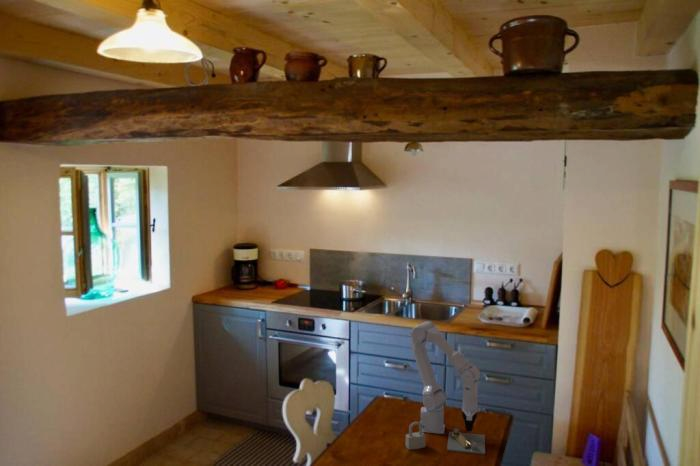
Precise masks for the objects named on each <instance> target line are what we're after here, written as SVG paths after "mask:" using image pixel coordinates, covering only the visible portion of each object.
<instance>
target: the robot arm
mask: <svg viewBox="0 0 700 466" xmlns="http://www.w3.org/2000/svg"><path fill="white" fill-rule="evenodd" d="M410 336H411V338H410V346H411V347H410V348H411V351H412V354H413V356H414V360H415V362H416V366H417V368H418V372H419V376H420V378H421V381H422V385H423V390H422V398H423V400H422V403H423V406H422V407H421V408H420V420H419V422H420V423H421V424H422V432H423V433H428V434H429V433H430V434H437V435H439V434H441V435H444V434H445V428H446V425H445V424H444V423H445V422H444V420H445V418H444V417H445V415H444V414H445V413H444V409H445V407H444V406H445V403H446V402H447V400H448V399H447V398H448V397H447V394H446V392H445V391H444V390H443V388H442V385H440V384H439V383H437V379H436V376H435V374H434V373H435V372H434V370H433V366H432V364H431V360H430V359H429V358H430V357H429V354H428V352H427V349H426V348H427V347H426V345H427V343H431V344H432V343H433V344H435V345H436V346H437V347H438V349H440V350H441V351H442V352H443V353H444V354H445V355H446V356H447V357H448V363H449V364H451V366H452V367H453V368H454V369H455V370H456V371H457V372H458V373H459V374H460V380H461V381H462V405H461V410H462V411H461V412H462V413H461V415H462V418H463V422H464V427H465V430H466V432H472V431H473V428H474V423H475V421H476V419H477V415H478V412H479V413H480V412H481V408H480V407H478V397H479V396H478V395H479V393H478V391H479V379H480V377H481V370H480V368H479V366H477V365H475V364H473V363H472V362H471V363H470V361H468V359H467V358H466V357H465V354H464V353H462V352H460V351H458V350H457V351H456V350H455V349H454V348H453V347H452V346H451V345H450V343H449V342H448V340H447V339H446V338H445V337H444V336H443V335H442V334H441V332H440V328H438V327H437V326H436V325H435V323H434V322H432V321H431V320H426V321H424V322H422V323H420V324H417V325H414V326H413V328H412V330H411V331H410Z"/></svg>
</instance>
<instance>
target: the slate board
mask: <svg viewBox="0 0 700 466" xmlns="http://www.w3.org/2000/svg"><path fill="white" fill-rule="evenodd" d="M452 432H453V431H448V440H447V447H446V450H447V452H456V453H464V454H465V453H466V454H475V455H486V435H485V434H477V433H467V432H460V433H461V435H462V436H463V437H465V438H466V439H471V440H473V441H474V442H475V443H476V450H471V449H470V447H467V448H464V447H463V446H462V445H461V444H460V443H459V442H458V441H457V440H456V439H455V438H454V437H452Z"/></svg>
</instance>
